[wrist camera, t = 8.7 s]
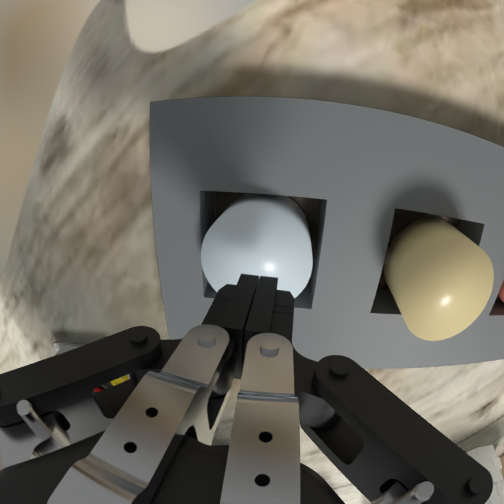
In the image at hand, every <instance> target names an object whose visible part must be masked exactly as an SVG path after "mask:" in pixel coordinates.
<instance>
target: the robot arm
mask: <svg viewBox="0 0 504 504" xmlns="http://www.w3.org/2000/svg"><path fill="white" fill-rule="evenodd" d="M277 286H278V278H277V277H268V276H260V279H259V276H258V275H250V274H241V275H240V277H239V280H238V282H237V285H233V284H226V285H225V286H223V287H222V288H220V289H219V290H218V292H217V294H216V296H215V299H214V300H213V302H212V305H211V306H210V308H209V310H208V312H207V314H206V316H205V318H204V320H203V322H202V324H201V325H199V326H196V327H193V328H192V329H190V330H189V331H188V332H187V333H186V335H185V336H184V338H182V339H172V340H160V335H159V333H158V332H157V331H156V330H155V329H153V328H151V327H146V326H137V327H132V328H129V329H127V330H124V331H122V332H119V333H116V334H114V335H111V336H108V337H105V338H103V339H100V340H97V341H95V342H92V343H89V344H86V345H84V346H81V347H78V348H75V349H72V350H70V351H67V352H64V353H61V354H58V355H56V356H53V357H50V358H47V359H44V360H41V361H38V362H35V363H32V364H30V365H27V366H24V367H21V368H18V369H15V370H12V371H9V372H6V373H3V374H0V453H1V458H2V462H3V466H4V469H2V470H1V471H0V504H345V503H344V502H343V501H342V500H341V498H340V497H339V496H338V495H337V494H336V493H335V492H334V490H333V489H332V488H331V487H330V486H329V484H328V483H327V482H326V481H325V480H324V479H323V478H322V477H321V476H320V475H319V474H318V473H316V472H315V471H314V470H312V469H311V468H309V467H307V466H306V465H304V464H302V463H300V426H301V428H302V429H303V431H304V432H305V433H306V434H307V435H308V436H309V438H310V439H311V440H312V441H313V442H314V443H315V444H316V445H317V447H318V448H319V449H320V450H321V451H322V452H323V453H324V454H325V455H326V456H327V458H328V459H329V460H330V461H331V462H332V463H333V464H334V465H335V466H336V467H337V468H338V469H339V470H340V471H341V472H342V474H343V475H344V476H345V477H346V478H347V479H348V480H349V481H350V482H351V483H352V484H353V485H354V486H355V487H356V488H357V489H358V490H359V491H360V492H361V493H362V494H363V495H364V496H365V497H366V498H367V499H368V500H369V501H370V502H371V504H485V503H486V502H487V501H488V499H489V498H490V496H491V493H492V490H493V479H492V476H491V474H490V472H489V471H488V470H487V469H486V468H485V467H484V466H482V465H481V464H480V463H478V462H477V461H476V460H475V459H473V458H472V457H471V456H470V455H468V454H467V453H466V452H465V451H463V450H462V449H461V448H460V447H458V446H457V445H456V444H455V443H453V442H452V441H451V440H450V439H448V438H447V437H446V436H445V435H443V434H442V433H441V432H440V431H438V430H437V429H436V428H435V427H433V426H432V425H431V424H430V423H428V422H427V421H426V420H425V419H424V418H422V417H421V416H420V415H419V414H417V413H416V412H415V411H414V410H413V409H411V408H410V407H409V406H408V405H407V404H405V403H404V402H403V401H402V400H400V399H399V398H398V397H397V396H396V395H394V394H393V393H392V392H391V391H390V390H388V389H387V388H386V387H385V386H384V385H382V384H381V383H380V382H379V381H378V380H376V379H375V378H374V377H373V376H372V375H370V374H369V373H368V372H367V371H366V370H365V369H363V368H362V367H361V366H360V365H359V364H357V363H356V362H355V361H354V360H352V359H350V358H348V357H346V356H342V355H329V356H326V357H324V358H322V359H321V360H319V361H318V362H317V361H314V360H311V359H308V358H306V357H304V356H302V355H301V354H299V353H298V352H297V351H296V350H295V348H294V347H293V344H292V333H293V318H294V301H295V299H294V297H293V295H292V294H291V292H290V291H284V290H277ZM242 373H243V374H242ZM128 374H129V377H130V379H129V380H127V381H124V382H122V383H119V384H117V385H115V386H112V387H110V388H107V389H105V390H102V391H99V392H96V391H94V389H95V388H97V387H98V386H101V385H103V384H106V383H108V382H111V381H113V380H115V379H118V378H120V377H123V376H125V375H128ZM241 377H242V381H241V387H240V393H238V396H237V401H236V408H235V414H234V420H233V426H232V433H231V439H230V445H214V446H212V439H213V436H214V433H215V430H216V428H217V425H218V423H219V420H220V418H221V415H222V413H223V411H224V408H225V406H226V403H227V400H228V398H229V395H230V388H231V385H232V382H233V378H236V379H241ZM299 422H300V425H299Z"/></svg>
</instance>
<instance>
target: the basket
mask: <svg viewBox="0 0 504 504" xmlns="http://www.w3.org/2000/svg"><path fill="white" fill-rule="evenodd" d="M466 453H467V454H468V455H470V456H471V457H472V458H473V459H475V460H476V461H477V462H478V463H480V464H481V465H482V466H484V467H485V468H486V469H487V470H488V471H489V472H490V474H491V476H492V479H493V490H492V493H491V496H490V498H489V499H488V501H487V502H486V503H485V504H504V480H503V476H502V473H501V470H502V466H501V462H500V459H499V457H497V455H496V452H495V449H494V446H493V444H492V445H488V446H483V447H478V448H475V449H473V450H470V451H468V452H466Z"/></svg>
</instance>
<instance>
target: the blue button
mask: <svg viewBox="0 0 504 504" xmlns="http://www.w3.org/2000/svg"><path fill="white" fill-rule="evenodd" d="M201 264H202V268H203V271H204V274H205V276H206V278H207V280H208V282H209V283H210V285H211V286H212V287H213V288H214V290H215V291H216V292H218V290H219V289H220V288H222V287H223V286H225V285H226V284H233V285H237V282H238V280H239V277H240V275H241V274H250V275H258V276H259V279H260V276H268V277H277V278H278V286H277V290H284V291H290V292H291V294H292V295H293V297H294V298H296V297H297V296H298V295H299V294H300V293H301V292H302V291H303V289H304V288H305V287H306V285H307V283H308V281H309V278H310V276H311V272H312V265H313V259H312V248H311V239H310V230H309V225H308V221H307V218H306V216H305V214H304V212H303V211H302V210H301V208H300V207H299V206H298V205H297V204H296V203H295V202H294V201H293V200H292V199H290V198H289V197H287V196H283V195H271V194H257V193H246V194H244V195H242V196H240V197H238V198H237V199H236V200H235V201H233V202H232V203H231V204H230V205H229V207H228V208H227V209H226V210H225V211H224V212H223V213H222V214H221V216H220V217H219V218H218V219H217V220H216V221H215V222H214V224H213V225H212V226H211V227H210V229H209V230H208V232H207V233H206V235H205V237H204V240H203V243H202V248H201Z"/></svg>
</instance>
